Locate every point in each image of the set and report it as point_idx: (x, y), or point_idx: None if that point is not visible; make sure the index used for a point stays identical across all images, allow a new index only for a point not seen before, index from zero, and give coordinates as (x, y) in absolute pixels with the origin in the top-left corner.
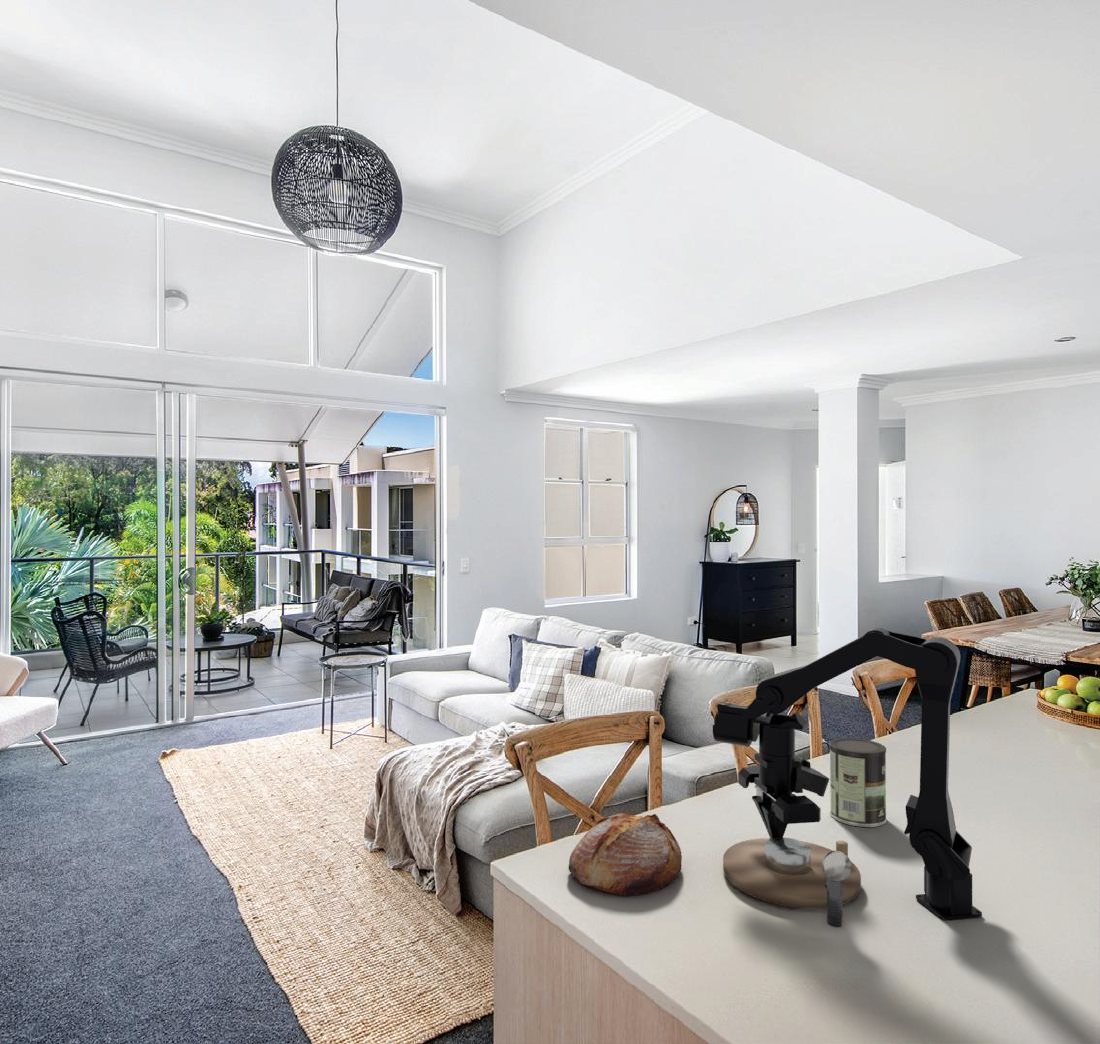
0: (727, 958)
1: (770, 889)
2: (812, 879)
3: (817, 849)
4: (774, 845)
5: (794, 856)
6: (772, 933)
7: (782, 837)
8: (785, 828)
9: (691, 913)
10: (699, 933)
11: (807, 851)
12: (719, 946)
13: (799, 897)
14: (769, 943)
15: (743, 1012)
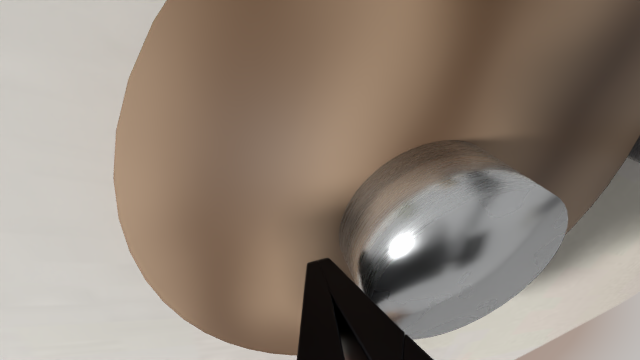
0: (562, 297)
1: None
2: (536, 162)
3: (280, 12)
4: (440, 316)
5: (548, 262)
6: (559, 249)
7: (355, 285)
8: (399, 330)
9: (454, 337)
10: (502, 324)
11: (552, 211)
12: (538, 305)
13: (578, 219)
14: (574, 255)
15: (633, 283)
